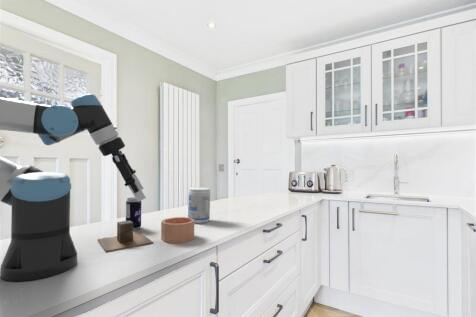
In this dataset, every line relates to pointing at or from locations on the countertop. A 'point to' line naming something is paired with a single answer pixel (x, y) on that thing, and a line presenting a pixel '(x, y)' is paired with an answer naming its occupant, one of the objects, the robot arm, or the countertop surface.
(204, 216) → the supplement tub
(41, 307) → the countertop surface
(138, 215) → the beverage can
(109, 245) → the walnut lid
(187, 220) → the terracotta bowl
